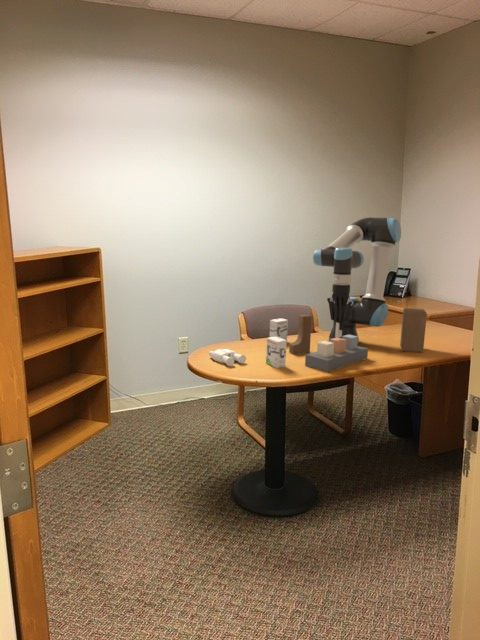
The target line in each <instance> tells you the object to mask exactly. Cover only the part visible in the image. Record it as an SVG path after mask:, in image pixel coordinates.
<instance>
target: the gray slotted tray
mask: <svg viewBox="0 0 480 640" xmlns="http://www.w3.org/2000/svg"><path fill="white" fill-rule="evenodd" d="M368 352H369V348H368V347H363V346H360V345H357V349H354V350H347V349H346V352H344V353H340V354H337V353H333V356H330V357H327V358H326V357H322V356H318V355H317V350H316V351H313V352H310V353H305V358H304V359H305V360H304V361H305V362H304V367H309V368H312V369H314V370H315V369H316V370H318V369H319V371H321V372H325V371H326V373H328V372H332V371H335V370H337V369H341V368H344V367H348V366H349V365H353V364H356V363H360V362H362V361H366V360H368V356H369V353H368Z"/></svg>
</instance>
